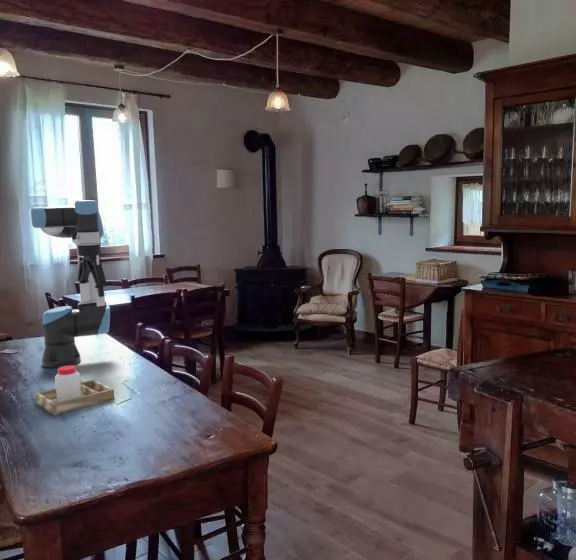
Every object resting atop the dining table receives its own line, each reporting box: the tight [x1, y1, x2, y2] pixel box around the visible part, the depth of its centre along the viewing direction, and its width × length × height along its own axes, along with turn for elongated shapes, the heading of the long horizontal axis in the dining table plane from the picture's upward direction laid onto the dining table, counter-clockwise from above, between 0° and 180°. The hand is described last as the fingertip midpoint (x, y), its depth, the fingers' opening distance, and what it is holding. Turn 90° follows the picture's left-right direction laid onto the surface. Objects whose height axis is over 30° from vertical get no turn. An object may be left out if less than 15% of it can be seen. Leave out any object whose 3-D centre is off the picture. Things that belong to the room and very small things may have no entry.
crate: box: [34, 379, 116, 416], centre depth 188 cm, size 16×20×4 cm
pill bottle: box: [54, 365, 82, 402], centre depth 186 cm, size 8×8×11 cm
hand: (93, 303), depth 203 cm, fingers open, 13 cm apart
